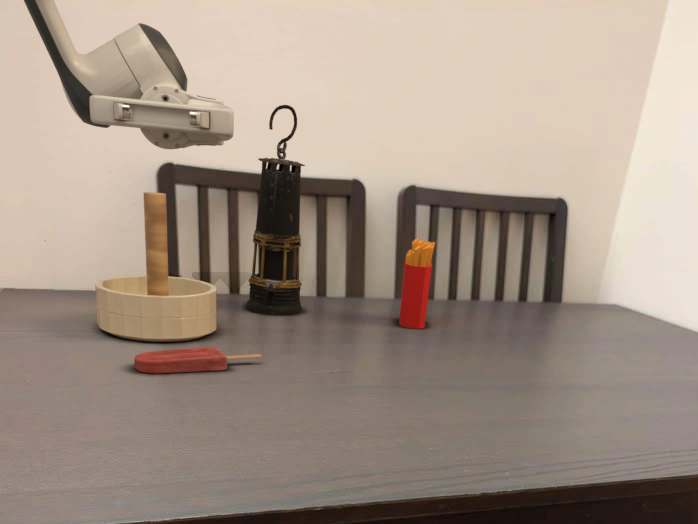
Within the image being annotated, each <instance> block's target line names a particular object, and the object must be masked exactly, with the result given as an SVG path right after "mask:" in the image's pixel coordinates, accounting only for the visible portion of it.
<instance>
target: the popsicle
mask: <svg viewBox="0 0 698 524" xmlns="http://www.w3.org/2000/svg"><path fill="white" fill-rule="evenodd" d="M257 358H258V359H259V358H262V354H259V353H256V354H255V353H252V354H237V355H225V353H223V352H222V351H221V350H220V349H219V348H218V347H216V346H207V347H206V346H205V347H192V348H191V347H190V348H182V349H181V348H180V349H168V350H167V349H166V350H155V351H145V352H141V353H138V354H136V355H135V356H134V358H133V360H134V361H133V362H134V369H135V370H136V371H138V372H141V373H145V374H175V373H196V372H218V371H227V369H228V360H240V359H241V360H243V359H257Z"/></svg>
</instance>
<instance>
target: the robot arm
mask: <svg viewBox="0 0 698 524" xmlns="http://www.w3.org/2000/svg"><path fill="white" fill-rule="evenodd" d="M23 2H24V4H25V6H26V9H27V12H28V13H29V15H30V17H31V19H32V21H33V23H34V26H35V28H36V30H37V32H38V35H39V37H40V38H41V41H42V42H43V45H44V47H45V49H46V51H47V53H48V55H49V57H50V60H51V61H52V64H53V66H54V68H55V71H56V72H57V75H58V76H59V80H60V83H61V87H62V90H63V92H64V95H65V98H66V100H67V102H68V104H69V106H70V108H71V109H72V111H73V112H74V114H75V115H76V116H77V117H78V118H79V119H80V120H81V122H82V123H84V124H86V125H89V126H93V127H98V128H104V129H108V128H110V127H111V126H112V127H113V126H114V127H115V126H116V127H123V128H134V129H140V131H141V133H142V134H143V136H144V137H145V139H147V140H148V142H149V143H151V144H152V145H153V146H155V147H157V148H160V149H164V150H179V149H186V148H189V147H194V146H197V147H200V146H211V147H212V146H213V147H215V146H221V147H222V146H223V145H224V144H225V142H226V141H230V140H231V139H233V137H234V127H235V112H234V108H232V107H230V106H228V105H225V102H224V101H223V100H221V99H216V98H211V97H205V96H201V95H195V94H192V93H190V92H187V91H188V81H189V80H188V79H189V78H188V77H187V73H186V72H185V69H184V68H183V65H182V63H181V61H180V60H179V58H178V56H177V54H176V53H175V51H174V49H173V48H172V47H171V45H170V44H169V42H168V40H167V39H166V37H165V36H164V35H163V34H162V33H161V32H160V31H159V30H158V29H156V28H154V27H152V26H150V25H148V24H145V23H141V22H140V23H137V24H135V25H133V26H132V27H130V28H128V29H126V30H125V31H123V32H121V33H119V34H117V35H115V36H114V37H113V38H112V39H110V40H109V41H106V42H104V43H103V44H102V45H100V46H98V47H96V48H95V49H93V50H91V51H90V52H87V53H84V54H82V53H79V52H78V51H77V49H76V47H75V45H74V43H73V41H72V38H71V36H70V34H69V31H68V29H67V27H66V25H65V23H64V20H63V18H62V15H61V13H60V12H59V9H58V7H57V5H56V2H55V0H23Z"/></svg>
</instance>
